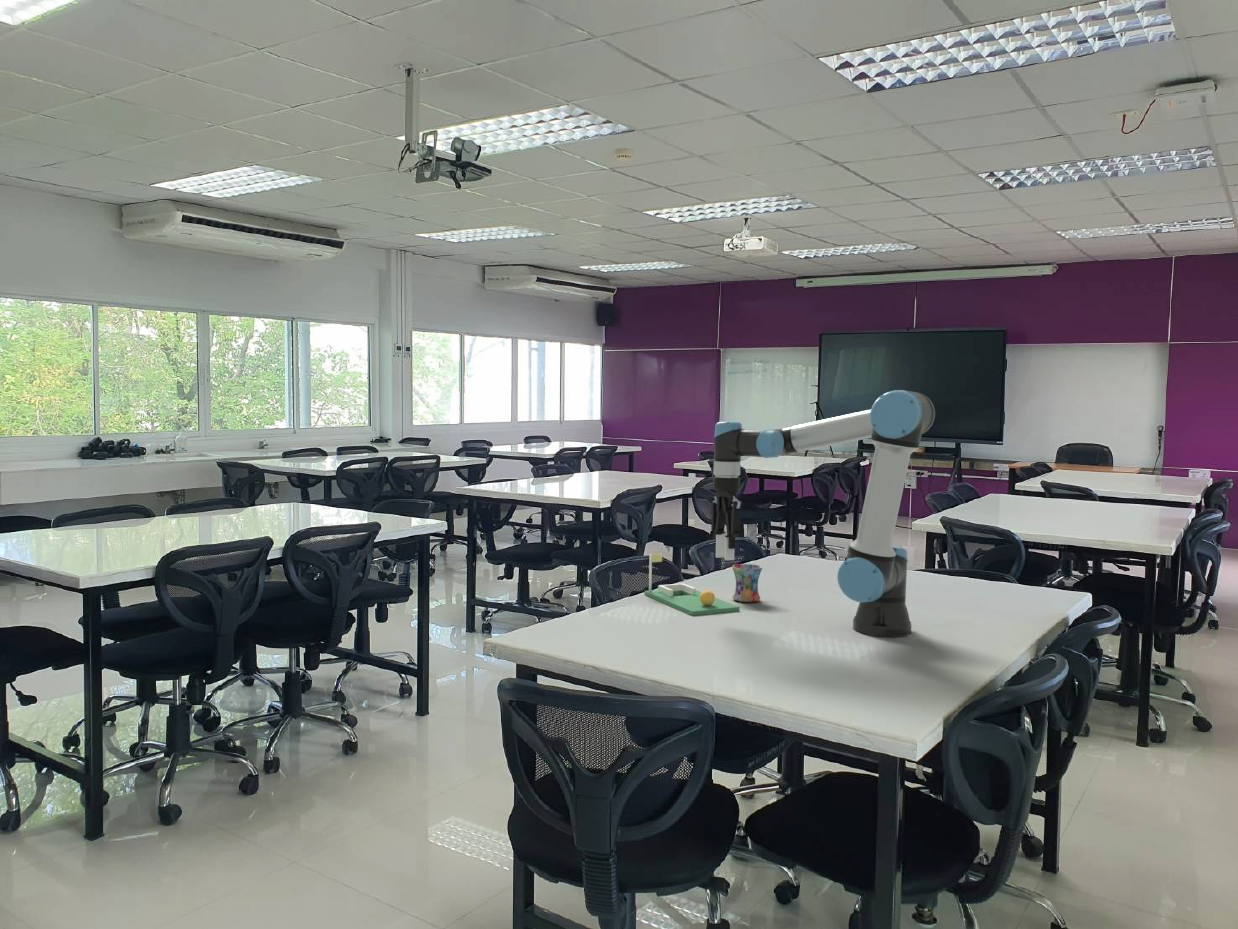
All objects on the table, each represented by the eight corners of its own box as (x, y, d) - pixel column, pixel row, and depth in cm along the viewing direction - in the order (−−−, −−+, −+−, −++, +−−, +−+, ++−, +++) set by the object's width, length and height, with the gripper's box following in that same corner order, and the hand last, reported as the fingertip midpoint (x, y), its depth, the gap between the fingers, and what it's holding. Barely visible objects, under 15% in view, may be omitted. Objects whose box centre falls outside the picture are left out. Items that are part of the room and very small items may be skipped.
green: (739, 611, 253) (740, 566, 253) (691, 615, 247) (693, 569, 246) (688, 591, 280) (689, 550, 280) (644, 594, 274) (645, 553, 273)
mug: (754, 605, 261) (755, 570, 261) (726, 601, 266) (727, 567, 266) (769, 598, 272) (770, 564, 271) (742, 594, 276) (743, 561, 276)
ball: (717, 606, 253) (718, 591, 253) (704, 607, 251) (704, 592, 251) (709, 603, 257) (710, 588, 257) (696, 604, 256) (697, 589, 255)
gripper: (755, 478, 238) (753, 562, 239) (722, 473, 253) (720, 553, 255) (732, 479, 235) (729, 564, 236) (699, 474, 250) (698, 554, 252)
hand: (724, 558), depth 245 cm, fingers open, 4 cm apart
